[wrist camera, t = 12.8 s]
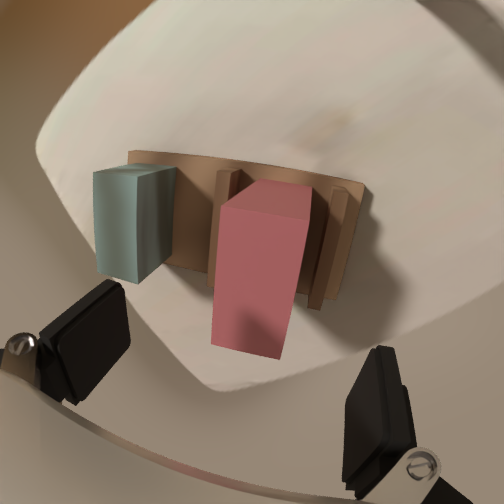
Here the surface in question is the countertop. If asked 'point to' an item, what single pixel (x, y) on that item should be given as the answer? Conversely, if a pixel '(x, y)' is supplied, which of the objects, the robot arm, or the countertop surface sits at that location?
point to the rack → (210, 217)
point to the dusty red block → (259, 265)
